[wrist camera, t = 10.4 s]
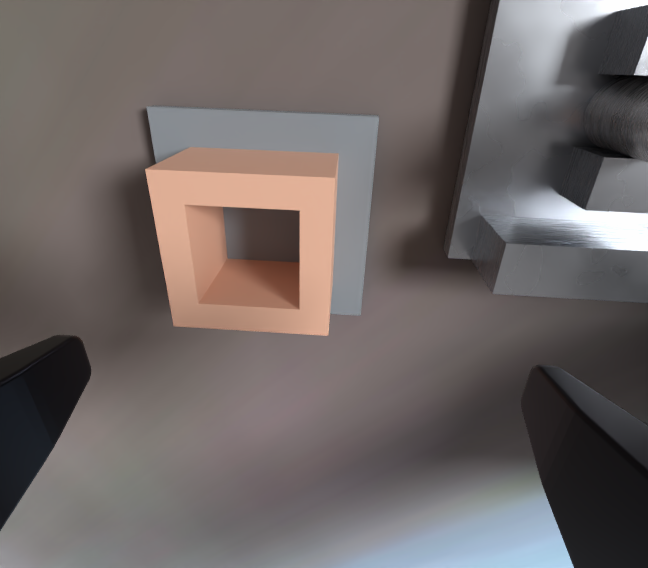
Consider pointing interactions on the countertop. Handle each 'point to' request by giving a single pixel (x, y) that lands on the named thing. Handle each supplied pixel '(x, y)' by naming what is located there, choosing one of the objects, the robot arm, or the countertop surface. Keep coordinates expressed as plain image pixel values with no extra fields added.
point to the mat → (274, 224)
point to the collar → (210, 241)
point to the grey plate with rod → (558, 152)
